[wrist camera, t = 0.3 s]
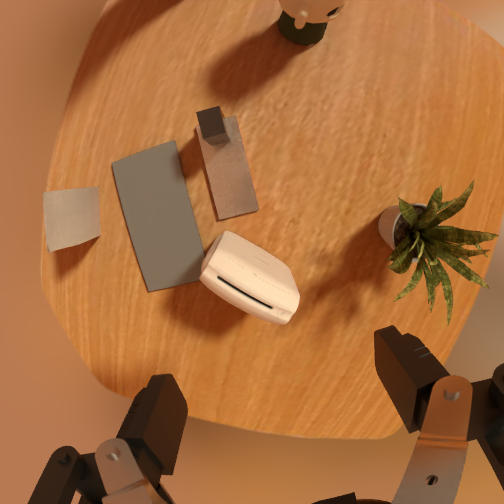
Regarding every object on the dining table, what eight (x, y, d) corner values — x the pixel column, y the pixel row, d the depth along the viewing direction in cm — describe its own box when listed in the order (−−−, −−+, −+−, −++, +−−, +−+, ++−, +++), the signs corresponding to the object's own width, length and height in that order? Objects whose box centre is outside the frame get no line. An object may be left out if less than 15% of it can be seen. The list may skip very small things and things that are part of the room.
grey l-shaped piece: (196, 127, 33) (184, 116, 27) (236, 116, 33) (231, 102, 26) (219, 218, 36) (212, 227, 30) (259, 209, 36) (260, 215, 29)
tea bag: (99, 186, 35) (56, 191, 25) (101, 235, 37) (60, 252, 27) (78, 188, 35) (33, 193, 25) (80, 235, 37) (38, 251, 27)
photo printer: (293, 265, 37) (311, 306, 25) (275, 292, 38) (284, 341, 26) (224, 224, 36) (209, 246, 24) (207, 252, 37) (185, 287, 25)
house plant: (374, 302, 38) (429, 366, 23) (321, 225, 36) (368, 260, 20) (444, 241, 36) (519, 274, 20) (400, 161, 34) (481, 157, 18)
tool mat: (113, 163, 34) (111, 163, 33) (175, 140, 33) (173, 140, 33) (150, 290, 38) (148, 291, 38) (211, 276, 38) (210, 277, 37)
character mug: (315, 67, 31) (342, 20, 18) (262, 49, 30) (265, -5, 18) (335, 12, 28) (363, -39, 16) (287, -5, 28) (298, -61, 15)
